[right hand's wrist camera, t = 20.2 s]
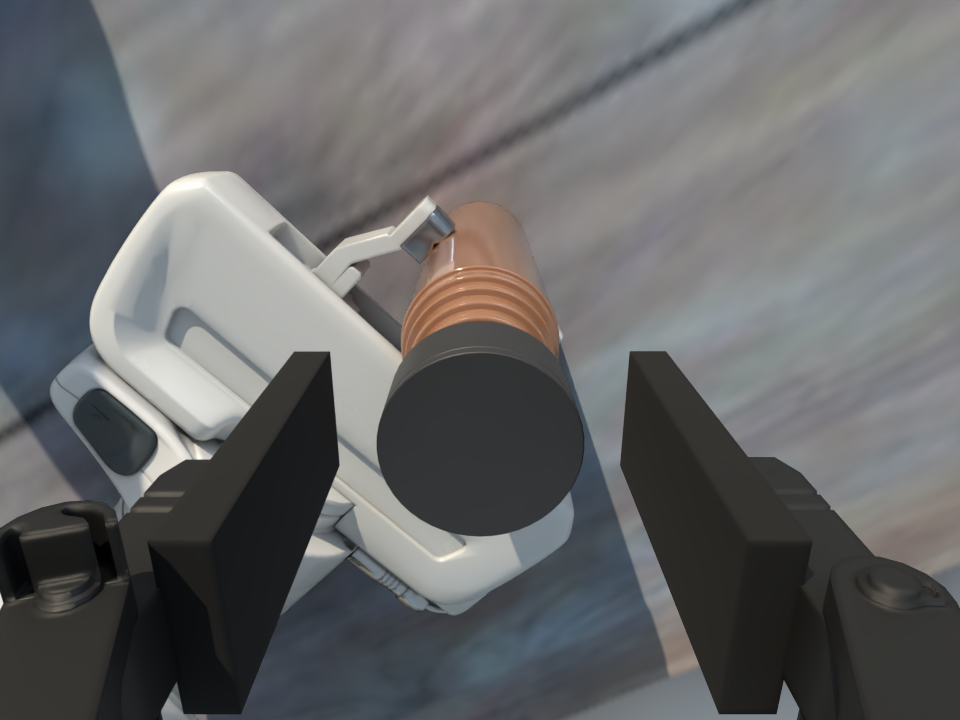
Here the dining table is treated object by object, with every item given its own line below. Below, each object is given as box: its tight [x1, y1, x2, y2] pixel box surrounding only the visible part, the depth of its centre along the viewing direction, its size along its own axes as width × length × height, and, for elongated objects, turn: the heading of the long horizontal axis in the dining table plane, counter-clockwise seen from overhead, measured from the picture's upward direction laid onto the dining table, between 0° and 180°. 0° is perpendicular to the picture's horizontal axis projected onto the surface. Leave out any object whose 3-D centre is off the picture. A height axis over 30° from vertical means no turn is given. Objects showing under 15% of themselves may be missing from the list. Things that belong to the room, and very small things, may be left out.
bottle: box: [401, 202, 560, 361], centre depth 22 cm, size 4×4×19 cm
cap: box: [376, 321, 584, 537], centre depth 14 cm, size 4×4×2 cm
